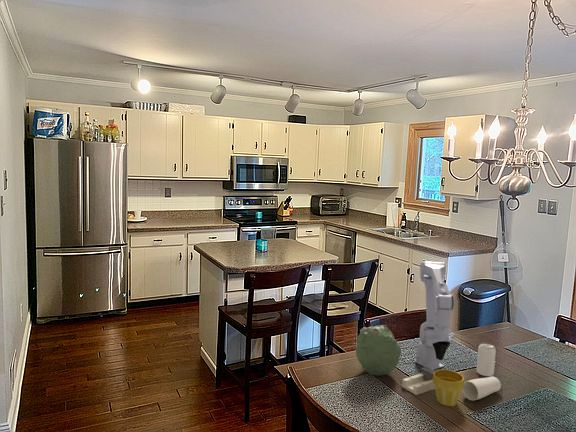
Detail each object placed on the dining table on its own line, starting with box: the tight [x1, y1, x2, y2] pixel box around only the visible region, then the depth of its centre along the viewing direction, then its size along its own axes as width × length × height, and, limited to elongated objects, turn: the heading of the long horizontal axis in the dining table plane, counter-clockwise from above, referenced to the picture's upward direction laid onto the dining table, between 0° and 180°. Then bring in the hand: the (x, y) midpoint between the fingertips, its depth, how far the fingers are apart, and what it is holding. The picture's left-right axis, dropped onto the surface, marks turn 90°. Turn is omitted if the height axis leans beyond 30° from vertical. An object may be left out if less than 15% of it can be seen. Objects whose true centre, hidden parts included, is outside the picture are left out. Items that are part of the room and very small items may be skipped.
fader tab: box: [420, 366, 435, 381], centre depth 169 cm, size 5×3×4 cm, turn 32°
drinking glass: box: [462, 375, 502, 402], centre depth 163 cm, size 7×7×15 cm
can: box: [476, 342, 496, 378], centre depth 180 cm, size 6×6×12 cm
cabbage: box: [355, 324, 402, 377], centre depth 176 cm, size 16×19×20 cm
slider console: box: [401, 372, 435, 396], centre depth 168 cm, size 7×15×3 cm, turn 123°
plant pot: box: [433, 368, 465, 407], centre depth 157 cm, size 10×10×10 cm
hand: (439, 359), depth 172 cm, fingers closed
